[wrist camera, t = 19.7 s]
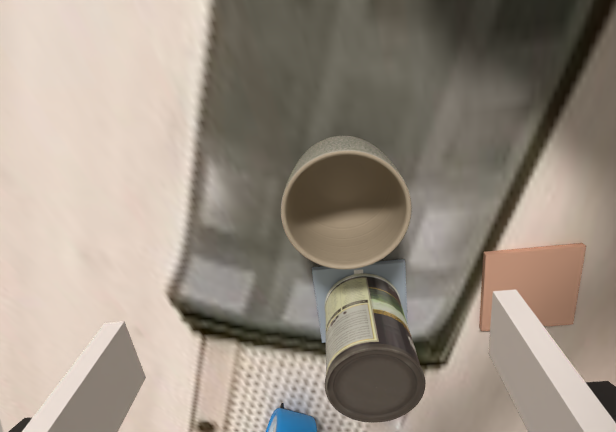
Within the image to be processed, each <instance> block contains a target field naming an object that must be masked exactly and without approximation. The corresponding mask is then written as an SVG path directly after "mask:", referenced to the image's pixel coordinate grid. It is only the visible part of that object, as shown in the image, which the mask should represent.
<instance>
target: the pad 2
mask: <svg viewBox="0 0 616 432" xmlns="http://www.w3.org/2000/svg"><path fill="white" fill-rule="evenodd" d="M585 250H586V246H585V245H584V244H583V243H579V244H567V245H556V246H545V247H534V248H523V249H512V250H500V251H489V252H484V253H483V271H482V290H481V308H480V329H481V331H488V330H490V325H491V310H492V296H493V291H503V290H515V289H516V290H517V291H518V293H519V294H520V295H521V297H522V298H523V299H524V301H525V302H526V303H527V305H528V306H529V307H530V309H531V310H532V311H533V313H534V314H535V315H536V317H537V318H538V319H539V321H540V322H541V323H542V325H543V326H556V325H570V324H573V321H574V315H575V309H576V303H577V297H578V291H579V285H580V280H581V274H582V268H583V262H584V256H585Z"/></svg>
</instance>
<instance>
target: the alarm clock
mask: <svg viewBox="0 0 616 432" xmlns="http://www.w3.org/2000/svg"><path fill="white" fill-rule="evenodd" d="M266 432H317V426H316V422H315V419H314V418H313V417H312V416H308V415H305V414H301V413H297V412H293V411H290V410H286V409H283V403H281V406H280V408H277V409H276V410H275V411H274V412H273V414H272V416H271V419H270V421H269V424H268V426H267V429H266Z"/></svg>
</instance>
